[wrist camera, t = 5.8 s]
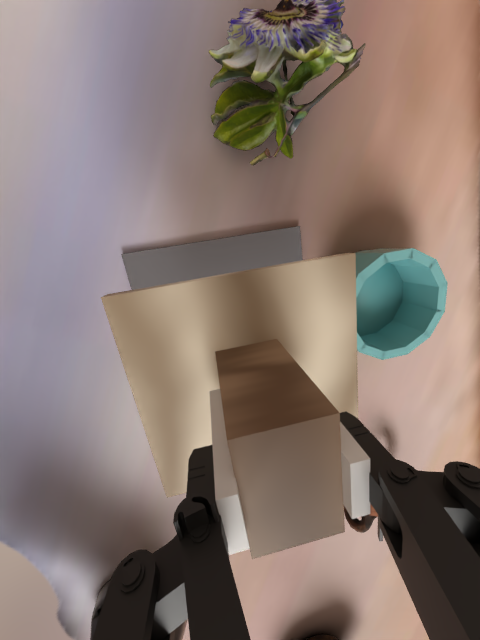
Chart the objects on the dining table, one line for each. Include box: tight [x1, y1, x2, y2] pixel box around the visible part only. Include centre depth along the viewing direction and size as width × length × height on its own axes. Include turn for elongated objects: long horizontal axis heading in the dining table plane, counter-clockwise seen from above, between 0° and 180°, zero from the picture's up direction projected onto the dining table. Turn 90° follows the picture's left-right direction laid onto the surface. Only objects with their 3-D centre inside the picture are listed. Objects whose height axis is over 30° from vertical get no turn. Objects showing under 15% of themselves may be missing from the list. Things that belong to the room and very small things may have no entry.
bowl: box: [355, 248, 447, 360], centre depth 29 cm, size 12×12×6 cm
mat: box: [122, 226, 302, 290], centre depth 30 cm, size 20×20×1 cm
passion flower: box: [209, 0, 365, 165], centre depth 21 cm, size 11×11×12 cm
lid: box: [101, 253, 358, 559], centre depth 13 cm, size 15×15×8 cm
